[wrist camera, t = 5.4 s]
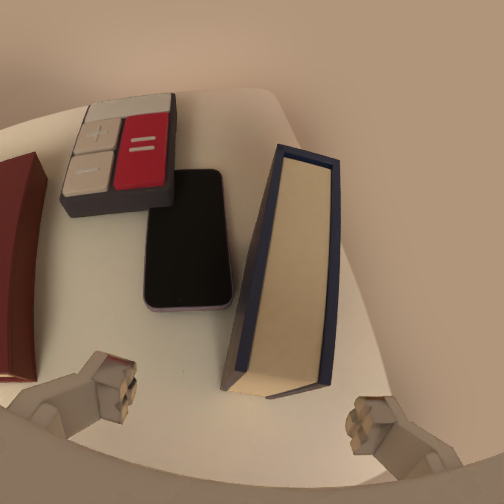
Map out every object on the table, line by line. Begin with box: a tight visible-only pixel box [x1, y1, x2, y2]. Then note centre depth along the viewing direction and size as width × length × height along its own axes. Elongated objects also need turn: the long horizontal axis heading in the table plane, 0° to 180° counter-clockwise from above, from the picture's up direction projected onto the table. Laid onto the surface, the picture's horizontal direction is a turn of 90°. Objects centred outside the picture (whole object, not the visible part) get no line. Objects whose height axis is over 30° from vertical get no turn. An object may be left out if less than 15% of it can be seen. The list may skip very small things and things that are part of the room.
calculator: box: [60, 93, 177, 218], centre depth 29 cm, size 11×4×15 cm
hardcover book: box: [220, 144, 341, 399], centre depth 20 cm, size 4×13×12 cm, turn 170°
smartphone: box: [143, 169, 234, 312], centre depth 27 cm, size 7×1×15 cm
